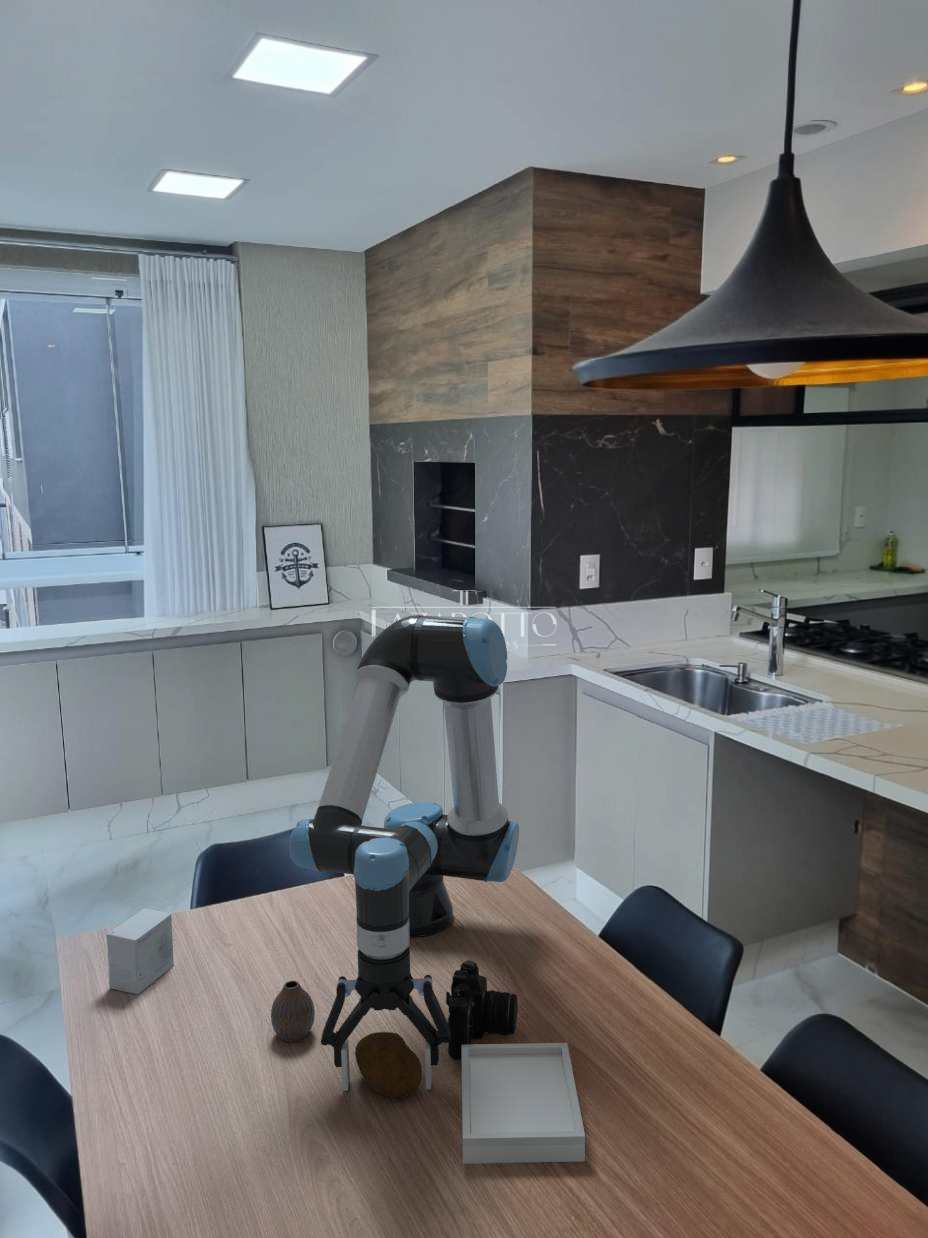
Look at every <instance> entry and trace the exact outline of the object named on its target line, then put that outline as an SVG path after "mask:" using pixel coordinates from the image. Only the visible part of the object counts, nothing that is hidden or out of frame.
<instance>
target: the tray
mask: <svg viewBox="0 0 928 1238" xmlns="http://www.w3.org/2000/svg"><path fill="white" fill-rule="evenodd" d="M461 1101H462V1102H461V1106H462V1107H461V1108H462V1109H461V1110H462V1113H461V1115H462V1116H461V1117H462V1120H461V1121H462V1123H461V1124H462V1164H469V1165H470V1164H513V1163H515V1164H519V1163H520V1164H522V1163H523V1164H524V1163H563V1162H564V1163H573V1162H574V1163H575V1162H576V1163H579V1162H583V1163H585V1161H586V1135H585V1129H584V1123H583V1118H582V1114H581V1113H582V1111H581V1108H580V1107H581V1106H580V1103H579V1102H580V1101H579V1097H578V1092H577V1086H576V1082H575V1076H574V1072H573V1067H572V1061H571V1055H570V1050H569V1045H568V1043H567V1042H544V1043H543V1042H542V1043H541V1042H540V1043H537V1042H536V1043H483V1044H481V1043H480V1044H478V1043H477V1044H476V1043H475V1044H473V1043H471V1044H469V1045H462V1060H461Z"/></svg>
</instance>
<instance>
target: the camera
mask: <svg viewBox="0 0 928 1238" xmlns="http://www.w3.org/2000/svg"><path fill="white" fill-rule="evenodd" d="M518 1001H519V999H518V994H517V993H511V992H507V991H506V992H505V991H502V992H501V991H500V990H499V991H498V990H494V989H491V990H488V979H487V977H486V976H483V975H480V968H479V967H478V964H477V963H476V962H475V961H473V960H470V959H468V960H467V959H466V960H465V961H464V962H462V964H461V965H460V969H459V970H458V969H456V970H455V971H454V973H453V976H452V982H451V986H450V992H449V991H446V992H445V1003H446V1005H447V1006H448V1013H449V1014H448V1017H447V1022H448V1025H449V1027H450V1042H449V1043H447V1044H448V1045H447V1047H448V1049H447V1051H448V1056H449V1058H451V1059H453V1060H459V1061H462V1045H469V1044H472V1043H473V1042H472V1041H473V1040H479V1039H483V1037H484V1036H485V1034H489V1035H501V1036H502V1035H503V1036H508V1035H515V1033H516V1030H517V1021H518V1010H519V1009H518V1004H519V1003H518Z"/></svg>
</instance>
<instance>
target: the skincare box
mask: <svg viewBox="0 0 928 1238" xmlns="http://www.w3.org/2000/svg"><path fill="white" fill-rule="evenodd" d="M172 923H173V921H172V913H171V912H164V911H159V910H154V909H150V908H142V909H141V910H139V911H138V912H137V913H135V914H134V915H132V916H131V917H129V918H128V919H126V920H125V921H123V923H121V924H120V925H118V926H117V927H115V928H113V929H112V930H111V931H109V932H108V933H107V934H106V943H107V960H108V982H109V983H108V986H109V989H111V990H116V991H120V992H124V993H128V994H134V995H139V994H141V993H142V992H143V991H144V990H145V989H146V988H148V987H150V986H151V984H153V983H154V982H155V981H156V980H158V979H159V978H160V977H161V976H163V975H164V974H165V973H167V972H168V971H169V970H170V969H171V968H172V967H174V966H175V964H174V963H175V962H174V960H175V959H174V945H173V944H174V943H173V941H174V940H173V925H172Z"/></svg>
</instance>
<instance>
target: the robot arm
mask: <svg viewBox="0 0 928 1238" xmlns="http://www.w3.org/2000/svg"><path fill="white" fill-rule="evenodd" d="M505 639H506V638H505V636H504V633H503V630H502V629H501V627H500V625H499V624H498V623H497V622H495V621H494V620H493V619H489V618H481V617H476V616H468V617H465V616H464V617H461V616H440V615H439V616H436V615H435V616H434V615H429V616H428V615H423V614H422V615H420V614H417V615H416V614H415V615H410V616H406V617H402V618H400V619H398V620H396V621H394V622H392V623H391V624H389V626H387V627H386V628H384V629H383V630H382V631H381V632H380V633H379V634H378V635H377V636H376V637H375V638H373V640H372V641H371V643H370V645H369V646H368V647H367V649H366V650H365V652H364V654H363V655H362V657H361V659H360V660H359V661H360V662H359V663H358V667H357V670H356V673H355V681H356V683H357V684H358V685H357V687H356V691H355V694H354V697H353V700H352V703H351V707H350V709H349V713H348V714H347V715H348V716H347V718H346V722H345V724H344V727H343V730H342V733H341V736H340V739H339V742H338V746H337V749H336V752H335V755H334V758H333V761H332V764H331V767H330V770H329V772H328V777H327V779H326V781H325V785H324V788H323V791H322V794H321V797H320V800H319V803H318V805H317V806H318V807H317V809H316V812H315V814H314V816H313V818H308V819H301V820H299V821H298V822H297V824H296V825H295V826H294V827H293V829H292V831H291V835H290V839H289V855H290V858H291V861H292V862H293V864H294V865H295V866H297V867H298V868H301V869H307V870H310V871H317V872H319V873H322V872H328V873H336V874H337V873H338V874H347V875H353V878H354V886H355V889H354V890H355V902H356V903H355V904H356V908H355V909H356V945H357V948H358V949H357V978H356V979H347V977H345V976H344V975H342V976H339V978H338V979H337V984H336V996H335V999H334V1002H333V1004H332V1006H331V1009H330V1011H329V1014H328V1017H327V1019H326V1022H325V1025H324V1027H323V1031H322V1034H321V1037H320V1044H321V1045H322V1046H328V1045H329V1046H331V1047H332V1049H333V1060H334V1062H333V1064H334V1066H335V1068H341V1080H342V1082H341V1083H342V1084H341V1085H342V1091H343V1092H344V1091H345V1092H347V1091H349V1085H350V1079H351V1078H350V1077H351V1075H350V1073H351V1071H350V1047H349V1046H350V1045H349V1037H350V1036H351V1034H352V1033H353V1032H354V1030H355V1029H356V1027H357V1026H358V1024H360V1022H361V1021H362V1019H363V1018H364V1017H365V1016H366V1015H367V1014H368V1012H369V1011H370V1010H371V1009H373V1011H382V1010H388V1011H396V1009H398V1010H399V1011H400V1012H401V1013H402V1015H403V1016H406V1017H407V1018H408V1020H409V1022H411V1023H412V1025H413V1026H414V1027H415V1029H416V1030H417V1031H418V1033H420V1035H421V1036H422V1037H423V1039H424V1040H425V1042H424V1058H425V1059H424V1060H425V1063H424V1064H425V1065H424V1067H425V1090H432V1066H438V1065H439V1061H440V1059H439V1057H440V1056H439V1054H440V1053H439V1052H440V1051H439V1047H440V1045H441V1044H443V1043H444V1044H448V1043H449V1042H450V1027H449V1025H448V1019H447V1018H446V1015H445V1014H444V1012H443V1009H442V1007H441V1005H440V1002H439V1000H438V998H437V996H436V993H435V991H434V989H433V976H432V975H430V974H425V975H424V976H423V978H414V977H413V976H412V973H411V951H410V950H411V949H410V940H411V939H410V938H411V937H412V938H413V937H425V936H429V935H433V934H437V933H440V932H441V931H443V930H445V929H447V928H448V927H449V926H450V925H451V923H452V922H453V918H454V916H453V914H454V912H453V905H452V904H453V903H452V901H451V898H450V895H449V893H448V889H447V887H446V884H445V882H444V877H448V878H449V877H451V878H457V879H458V878H459V879H467V880H473V881H481V882H484V883H487V882H497V883H503V882H505V881H506V880H507V879H508V878H510V875H511V873H512V870H513V867H514V864H515V861H516V860H515V859H516V854H517V852H518V851H517V850H518V845H519V836H520V827H519V826H520V825H519V824H518V823H517V822H516V821H514V820H509V815H508V813H509V812H508V810H507V808H506V807H505V806H504V805H503V804H502V803H500V802H499V801H500V800H499V786H498V773H497V762H496V761H497V760H496V747H495V736H494V722H493V721H494V720H493V708H492V707H493V705H492V698H493V696H495V695H496V694H497V692H498V690H499V686H501V685H502V684H503V683H504V681H505V680H506V677H507V671H508V663H507V661H508V651H507V650H508V649H507V644H506V640H505ZM414 681H422V682H423V681H424V682H432V683H433V685H432V686H433V690H434V691H433V692H434V693H433V694H434V696H435V697H436V698H437V699H438V700H439V701H442V702H443V710H444V718H445V719H444V720H445V729H446V739H447V747H448V758H449V760H448V761H449V767H450V779H451V788H452V789H451V791H452V799H453V807H452V808H451V809H450V811H448V814H444V810H443V807H442V805H440V804H439V803H437V802H432V801H416V802H412V803H407V804H403V805H401V806H400V805H399V806H398V807H395V808H393V809H392V810H391V811H390V812H388V813H387V814H386V816H385V817H384V820H383V827H377V826H367V825H363V819H364V815H365V813H366V809H367V806H368V804H369V801H370V800H369V799H370V796H371V793H372V790H373V787H374V783H375V780H376V777H377V773H378V771H379V766H380V765H381V761H382V757H383V753H384V751H385V747H386V744H387V742H388V738H389V735H390V731H391V728H392V725H393V721H394V719H395V718H394V717H395V714H396V712H397V709H398V706H399V701H400V699H401V697H404V696H405V695H406V694H407V693H408V692H409V691H408V690H409V688H410V685H411V683H413V682H414ZM414 989H415V990H417V992H418V995H420V996H421V997H423V1001H424V1003H425V1005H426V1008H427V1010H428V1012H429V1015H430V1017H431V1018H432V1021H433V1023H434V1025H433V1024H432V1023H431V1021H430V1020H429V1019H428V1018H427V1016H426V1015H425V1014H424V1013H423V1012H422V1010H421V1009H420V1008H419V1006H417V1004H416V1003H415V1001H413V998H412V996H411V993H412V992H413V990H414ZM354 990H355V992H356V993H357V994H358V995H359V996H360V999H359V1001H358V1003H357V1004H356V1005H355V1007H354V1008H353V1009H352V1011H351V1012H350V1013H349V1015H348V1016H347V1017H346V1018H345V1020H344V1022H343V1023H342V1025H340V1027H339V1028H338V1030H336V1031H335V1032H334V1030H335V1028H336V1025H337V1022H338V1020H339V1018H340V1015H341V1012H342V1009H343V1007H344V1006H345V1005H344V1004H345V1000H346V998H348V997H350V996H351V994H352V992H353V991H354ZM434 1026H435V1027H434Z"/></svg>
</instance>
